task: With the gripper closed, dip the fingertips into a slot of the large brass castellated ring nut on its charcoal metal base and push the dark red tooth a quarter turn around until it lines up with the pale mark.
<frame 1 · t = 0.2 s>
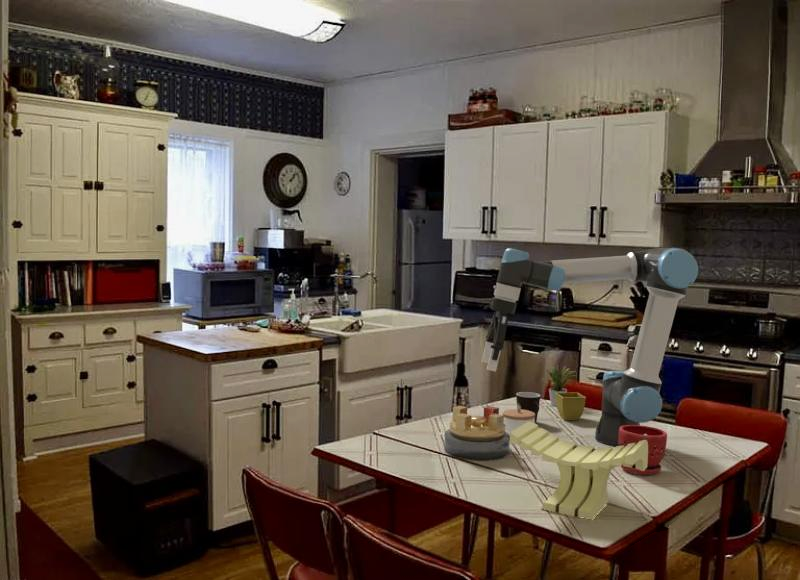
hand: (488, 366, 224), 26 cm above the table, tool pointing down, fingers open, 13 cm apart
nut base: (476, 450, 226), on the table
flower pot: (569, 419, 268), on the table
slatted curved stool: (576, 505, 182), on the table
coffee mug: (527, 423, 261), on the table
lidded jar: (518, 436, 244), on the table
plant pot: (640, 471, 211), on the table
ring nut: (477, 422, 225), point 9 cm above the table, hinge at 0.0°
house plant: (557, 406, 289), on the table
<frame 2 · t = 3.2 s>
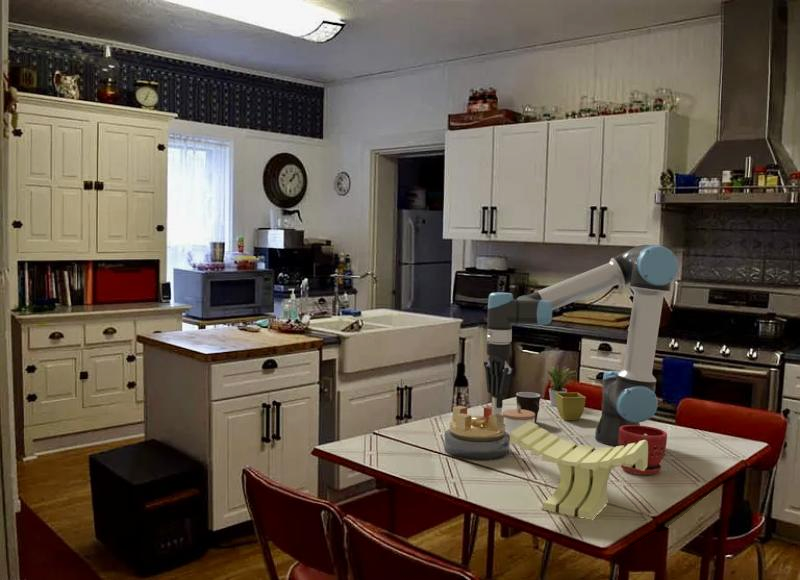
hand: (496, 417, 228), 10 cm above the table, tool pointing down, fingers closed
ring nut: (477, 422, 225), point 9 cm above the table, hinge at 0.0°, touching gripper
everything else where it was.
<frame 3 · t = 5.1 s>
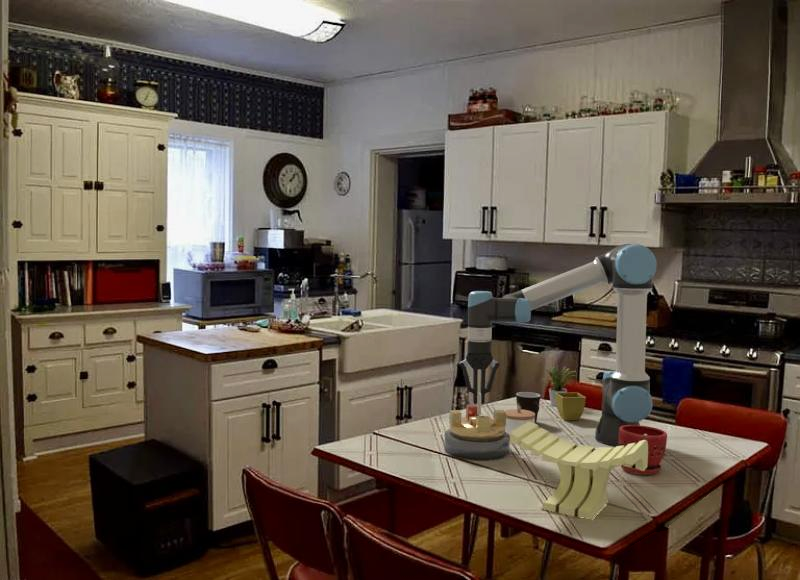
hand: (478, 413, 232), 10 cm above the table, tool pointing down, fingers closed
ring nut: (477, 422, 225), point 9 cm above the table, hinge at 50.5°, touching gripper
everything else where it was.
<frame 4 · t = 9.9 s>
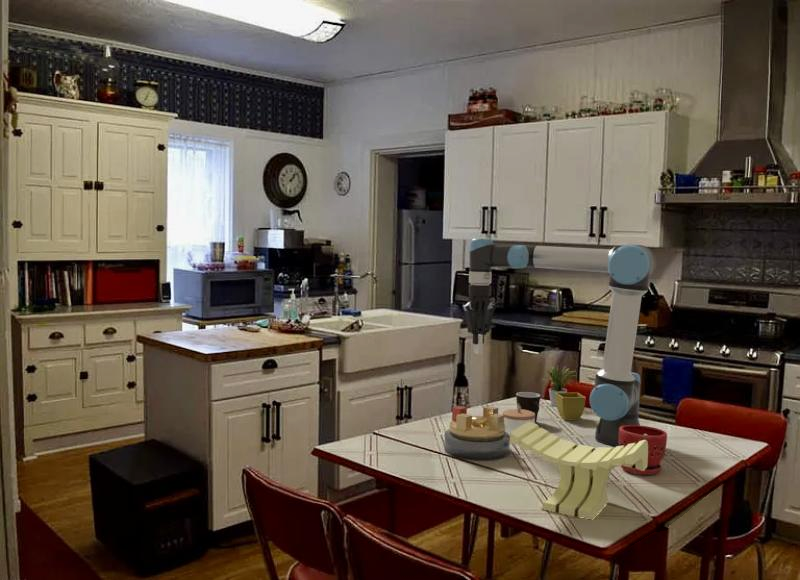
hand: (477, 353, 248), 26 cm above the table, tool pointing down, fingers closed
ring nut: (477, 422, 225), point 9 cm above the table, hinge at 91.9°
everything else where it was.
at the end: ring nut at +92° (first picture: +0°) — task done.
